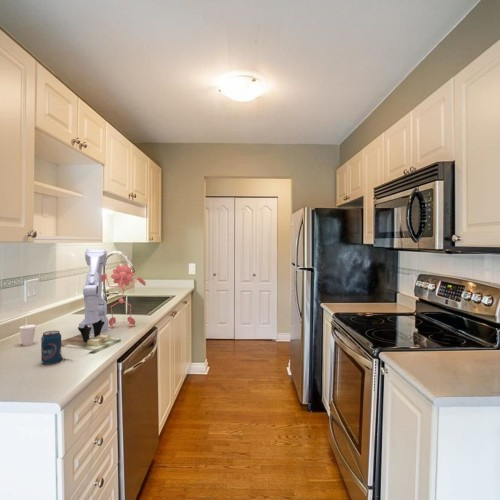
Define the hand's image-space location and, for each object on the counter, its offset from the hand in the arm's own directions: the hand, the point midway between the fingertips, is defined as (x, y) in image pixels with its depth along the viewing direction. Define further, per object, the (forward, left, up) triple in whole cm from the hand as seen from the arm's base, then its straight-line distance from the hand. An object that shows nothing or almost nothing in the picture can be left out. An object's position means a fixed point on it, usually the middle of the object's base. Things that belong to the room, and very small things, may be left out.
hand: (91, 339), depth 156 cm
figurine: (-35, -9, -3) cm, 36 cm away
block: (0, +4, -1) cm, 4 cm away
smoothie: (+11, -25, -3) cm, 28 cm away
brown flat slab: (0, -3, -3) cm, 4 cm away
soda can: (+22, 0, -3) cm, 22 cm away
